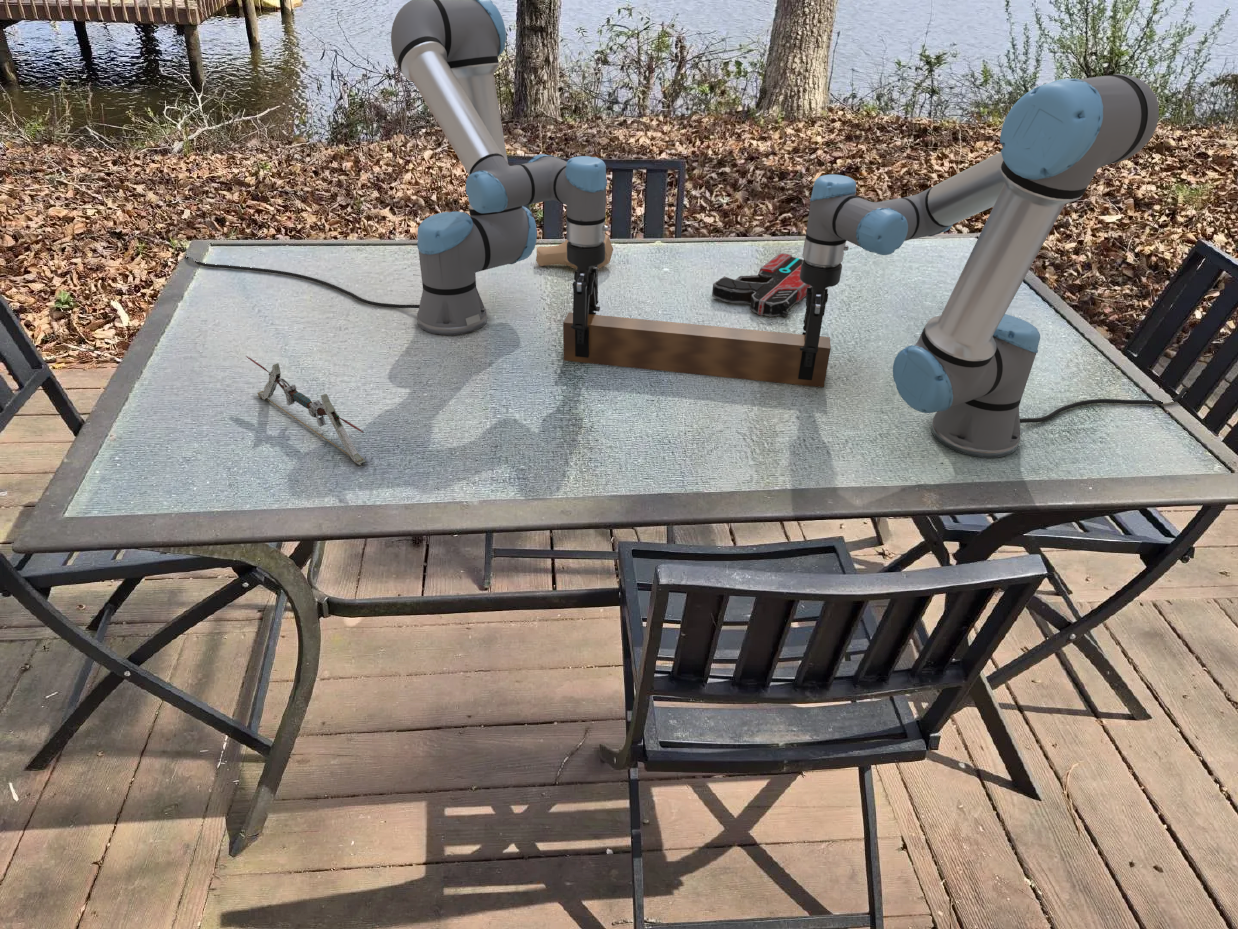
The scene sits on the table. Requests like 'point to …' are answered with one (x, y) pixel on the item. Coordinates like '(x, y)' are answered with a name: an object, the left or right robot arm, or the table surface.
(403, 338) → the table surface
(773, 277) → the gun
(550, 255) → the squash
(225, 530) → the table surface
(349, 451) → the bow
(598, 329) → the beam
